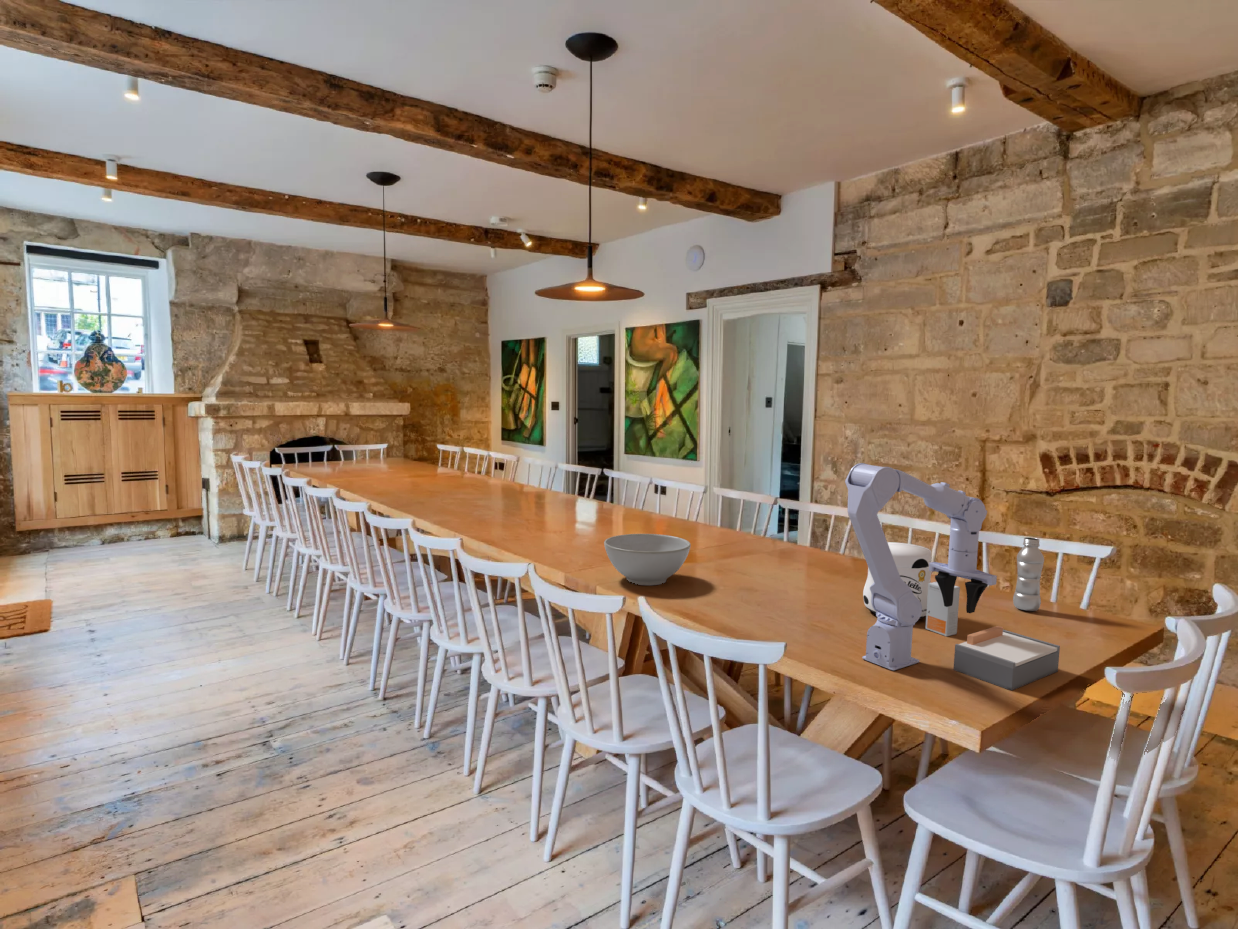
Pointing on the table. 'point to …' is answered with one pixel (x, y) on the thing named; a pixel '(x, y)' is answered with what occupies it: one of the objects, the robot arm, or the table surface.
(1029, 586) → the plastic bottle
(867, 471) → the robot arm
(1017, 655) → the lid
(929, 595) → the skincare box
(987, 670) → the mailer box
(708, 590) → the table surface
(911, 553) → the milk container
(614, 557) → the decorative bowl
